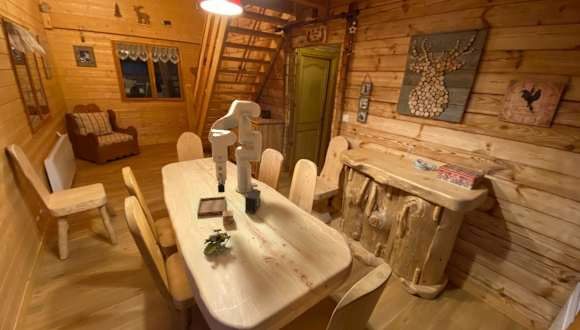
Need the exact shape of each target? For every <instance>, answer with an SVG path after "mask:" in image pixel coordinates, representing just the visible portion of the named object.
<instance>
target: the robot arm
mask: <svg viewBox="0 0 580 330" xmlns="http://www.w3.org/2000/svg"><path fill="white" fill-rule="evenodd" d="M261 112H262V111H261V106H260V105H259V104H258V103H256V102H254V101H252V100H240V99H239V100H234V101H233V102H232V103H231V105H230V107H229V109H228V111H227V113H226V115H225V116H223V117H221V118H220V119H217V120H216V121H215V122H214V123H213V124H212V125H211V127H210V130H209V131H208V132H209V133H208V136H207V138H208V141H209V142H210V143H211V153H212V154H211V156H212V157H211V158H212V162H213V163H214V166H215V177H216V181H217V192H218V193H221V194H223V193H225V191H226V190H225V189H226V188H225V184H226V181H227V179H228V174H227V173H228V172H227V162H228V161H229V158H228V157H229V156H228V155H229V154H228V152H229V151H228V147H229V146H232V145H234V144H235V143H236V142H237V141H238V143H239V144H241V145H245V146H241V145H240V146H238V147H236V148H235V151H234V155H235V159H236V160H235V161H236V177H237V178H236V179H237V181H236V182H237V186H235V191H236V192H237V193H240V194H248V193H249V192H250V191H251V190H254V188H258V187H259V185H258V184H259V183H258V184H257V183H256V182H253V183H252V166H251V163H250V162H259V161H261V158H262V150H263V148H262V146H263V135H262V133H261V132H260V131H258V130H252V127H253V126H252V125H253V123H252V121H251V118H258V117H259V116H260V115H261ZM235 127H238V137H237V134H236V133H235V132H234V131H233V130H228V129H231V128H235ZM237 138H238V139H237ZM246 145H247V146H246Z"/></svg>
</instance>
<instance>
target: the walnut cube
mask: <svg viewBox="0 0 580 330" xmlns="http://www.w3.org/2000/svg"><path fill="white" fill-rule="evenodd" d="M234 223H235V221H234V210H233V209H232V210H226V211H223V214H222V224H223V226H229V225H234Z"/></svg>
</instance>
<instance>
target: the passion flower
mask: <svg viewBox="0 0 580 330" xmlns="http://www.w3.org/2000/svg"><path fill="white" fill-rule="evenodd" d="M212 231H213V232H214V234H210V235H209V236H208V238H206V239H205V240H204V242H203V245H206V244H207V245H206V246H205V248H204V250H203V254H207V255H208V254H210V253H212V252H214V250H215V252H216V253H217V254H219V255H221V254H222V251H223V249H224V248H225V245H226V243H227V242H228V241H229V240H230V239H231V237H232V236H231V235H228V233H227V232H226V231H225V232H223V233H222V232H221V231H223V229H221V228H220V229H219V228H218V229H217V228H216V229H213V230H212ZM222 243H224V244H223V245H221V244H222Z"/></svg>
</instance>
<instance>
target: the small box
mask: <svg viewBox="0 0 580 330" xmlns="http://www.w3.org/2000/svg"><path fill="white" fill-rule="evenodd" d="M261 192H262V191H261V190H255V189H253V190H251V191H250V192H248V193H246V195H245V198H244V201H245V205H244V206H245V207H244V209H245V211H244V212H245V213H248V214H253V215H254V214H256V213H257V211H258V210H259V209H260V206H261Z"/></svg>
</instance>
